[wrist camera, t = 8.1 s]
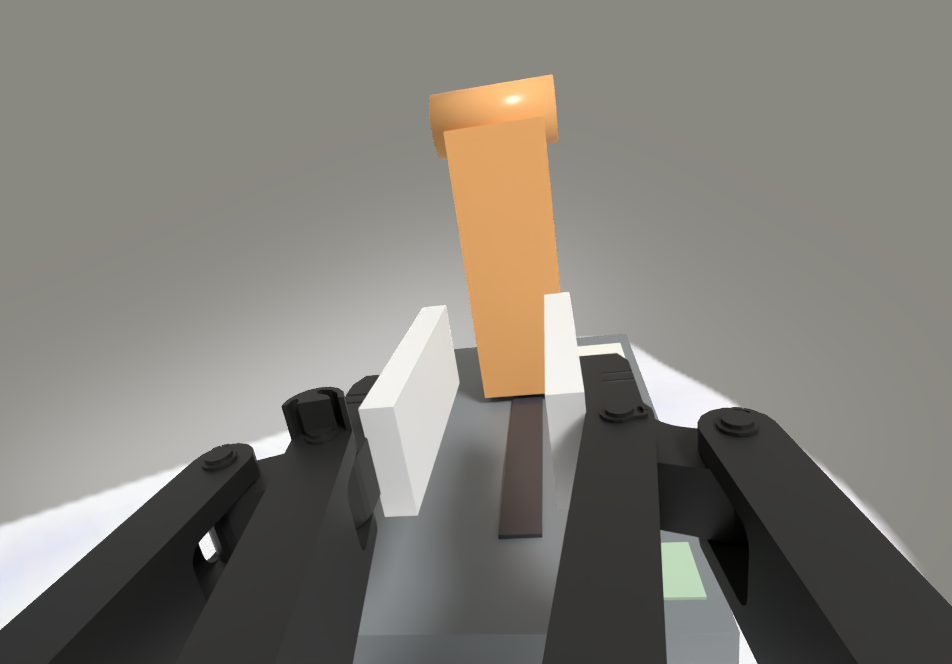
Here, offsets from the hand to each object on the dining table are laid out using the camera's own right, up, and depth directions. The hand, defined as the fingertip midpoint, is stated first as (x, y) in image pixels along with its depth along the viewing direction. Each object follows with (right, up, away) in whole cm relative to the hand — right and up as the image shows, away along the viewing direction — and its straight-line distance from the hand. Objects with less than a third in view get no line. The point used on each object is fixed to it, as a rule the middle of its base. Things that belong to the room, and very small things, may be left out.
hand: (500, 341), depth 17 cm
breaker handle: (+2, -2, +10) cm, 10 cm away
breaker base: (+2, -7, +7) cm, 10 cm away
